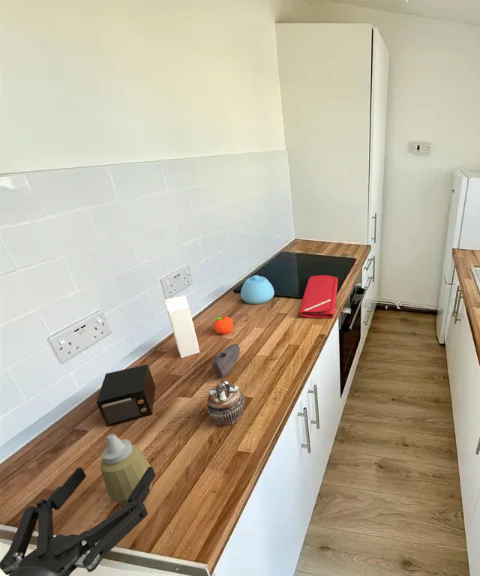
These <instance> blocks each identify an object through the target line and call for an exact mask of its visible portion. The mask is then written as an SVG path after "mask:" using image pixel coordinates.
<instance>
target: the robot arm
mask: <svg viewBox="0 0 480 576" xmlns="http://www.w3.org/2000/svg"><path fill="white" fill-rule="evenodd" d="M156 476H157V475H156V473H155V470H154V468H153V466H151V467H148V469H147V470H146V472H145V473H144V475H143V476H142V478H141V479H140V481H139V482H138V484H137V486H136V487H135V489H134V490H133V492H132V493H131V495H130V496H129V498H128V499H127V500H128V502H129V504H127V505H126V506H124V505H123V507H121V508H120V509H118V510H117V511H115V512H113V513H112V514H111V515H109V516H108V517H107V518H105V519H103V520H102V521H100V522H99V523H98V524H96V525H95V526H93V527H91V528H90V529H85V530H83V531H82V532H81V533H79V534H76V533H72V534H67V535H64V534H56V535H55V536H54V511H60V510H61V508H62V507H63V506H64V505H65V503H66V502H67V501H68V499H69V498H71V496H72V495H73V494H74V493H75V491H77V489H78V487H79V486H80V485H82V482H83V481H84V480H85V479H86V478H87V474H86V473H85V471H84V469H83V467H77V468H76V469H75V470H74V472H73V473H71V475H70V476H69V477H68V478H67V480H66V481H65V482H64V483H63V484H62V485H61V486H58V487H56V489H55V490H54V491H53V492H52V494H50V495H49V497H48V498H47V499H41V500H39V501H38V502H37V503H36V506H34V505H31V506H28V507H26V508H25V509H24V511H23V513H22V516H21V519H20V521H19V523H18V526H17V528H16V530H15V533H14V536H13V538H12V541H11V543H10V546H9V549H8V550H7V552H6V554H4V556H3V558H2V559H1V560H0V570H1V571H2V572H3V573H4V575H6V576H70V575H71V574H72V573H73V572H74V571H75V570H76V569H77V568H78V569H85V570H86V571H87V572H88V573H92V572H94V571H95V570H96V569H97V567H98V566H99V565H100V563H101V562H102V561H103V559H104V558H105V556H107V555H108V554H109V553H110V552H111V551H112V550H113V549H114V548H115V547H116V546H117V545H118V544H119V543H120V542H121V541H122V540H124V539H125V538H126V536H128V534H130V532H132V531H133V530H134V529H135V528H136V527H137V526H138V525H139V524H140V523H141V522H143V520H144V519H145V518H146V517H147V516H148V514H149V512H148V510H147V507H146V505H145V503H144V502H145V501H146V499H147V497H148V496H149V494H150V493H151V491H150V489H149V486H150V484H151V482H152V481H153V482H154V479H155V478H156ZM149 492H150V493H149ZM53 510H54V511H53ZM36 526H37V536H36V548H35V549H33V550H32V551H30V553H28V554H27V555H26V553H27V551H28V548H29V546H30V543H31V540H32V537H33V534H34V532H35V528H36ZM83 542H86V543H85V544H83Z"/></svg>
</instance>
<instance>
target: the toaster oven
mask: <svg viewBox="0 0 480 576" xmlns="http://www.w3.org/2000/svg"><path fill="white" fill-rule="evenodd" d="M156 388H157V387H156V385H155V381H154V378H153V374H152V372H151V369H150V366H149V364H143V365H139V366H134V367H133V366H132V367H129V368H125V369H120V370H116V371H115V370H114V371H112V372H106V373H105V375H104V378H103V381H102V384H101V387H100V390H99V393H98V396H97V399H96V402H95V403H96V405H97V407H98V409H99V411H100V415H101V416H102V418H103V420H104V423H105V425H106V427H107V428H109V427H114V426H117V425H120V424H124V423H128V422H130V421H135V420H138V419H141V418H145V417H148V416H152V415H153V410H154V403H155V395H156Z"/></svg>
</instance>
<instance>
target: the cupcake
mask: <svg viewBox="0 0 480 576" xmlns="http://www.w3.org/2000/svg"><path fill="white" fill-rule="evenodd" d="M245 400H246V399H245V395H244V393H243V392H242V390H241V389H239V386H237V385H235V384H230V383H229V382H228V381H227V380H222V381H221V382H220V383H218V384H217V385H216V386H215V387H212V388H211V389H210V390H209V391H208V397H207V404H206V408H207V409H206V410H207V413H208V414H209V415H210V417H211V419H212V420H213V422H214V424H215V425H218V426H220V427H223V426H224V427H226V426H231V425H233V424H235V423H237V422H238V421H240V419H241V418H242V416H243V415H244V406H245Z"/></svg>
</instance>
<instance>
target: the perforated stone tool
mask: <svg viewBox="0 0 480 576" xmlns="http://www.w3.org/2000/svg"><path fill="white" fill-rule="evenodd" d="M240 351H241V349H240V345H239V344H237V343H234V344H233V343H232V344H231V345H229V346H227V347H226V348H224V349H223V350H222V351H221V352H219V353H218V354H217V355H216V356H215V357H214V358H213V360H212V361H211V366H212V367H211V370H212V372H214V374H215V376H217V377H219V378H221V379H225V377H226V376H227V375H228V374H229V373H231V370H232V369H233V368H234V366H235V365H236V362H237V361H238V359H239V356H240Z"/></svg>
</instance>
